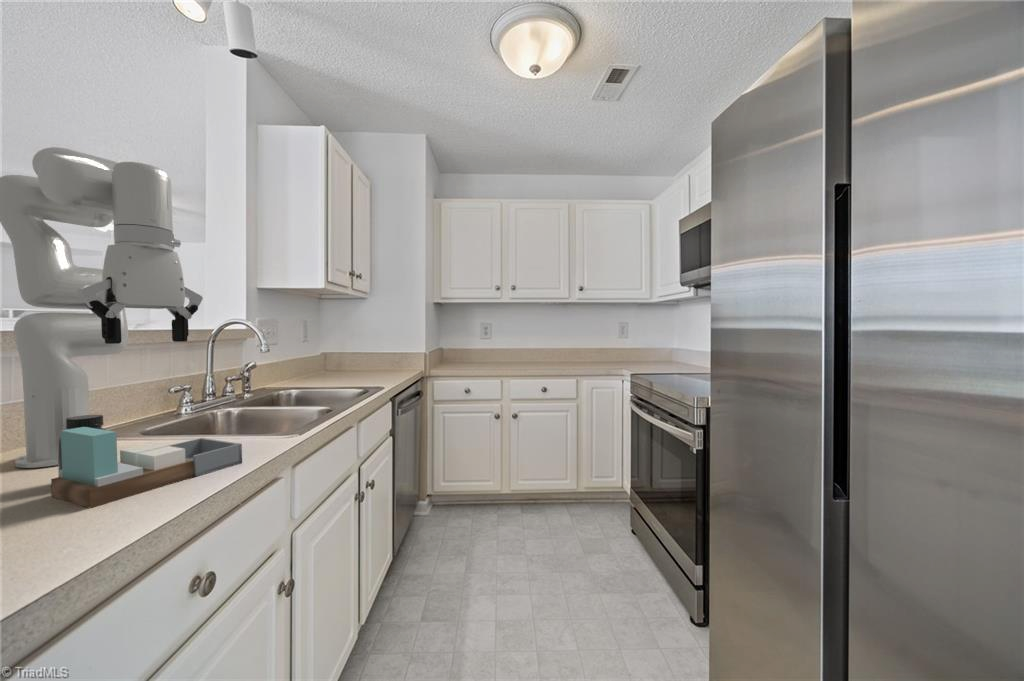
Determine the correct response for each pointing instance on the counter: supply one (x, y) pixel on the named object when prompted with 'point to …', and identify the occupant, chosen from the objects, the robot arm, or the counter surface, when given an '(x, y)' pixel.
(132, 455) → the tile
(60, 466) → the supplement bottle
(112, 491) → the board
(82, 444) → the teal cube on plate
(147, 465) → the tile
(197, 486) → the counter surface
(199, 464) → the tray
